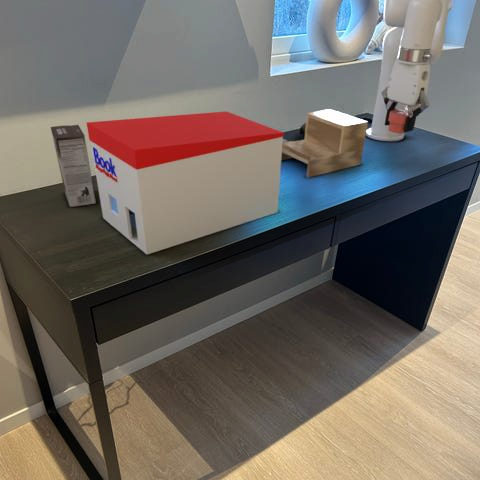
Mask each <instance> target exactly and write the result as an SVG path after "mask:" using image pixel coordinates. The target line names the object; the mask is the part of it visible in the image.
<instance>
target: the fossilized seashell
mask: <svg viewBox="0 0 480 480" xmlns="http://www.w3.org/2000/svg"><path fill="white" fill-rule="evenodd" d="M305 128H306V122H304V123H303V124H302V125H301V126H300V127H299V134H300V135H302V136H305Z"/></svg>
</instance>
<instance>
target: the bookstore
mask: <svg viewBox="0 0 480 480" xmlns="http://www.w3.org/2000/svg"><path fill="white" fill-rule="evenodd" d="M86 129H87V134H88V140H89V141H90V148H91V153H92V154H91V155H92V160H93V165H94V166H93V167H94V171H95V177H96V184H97V189H98V195H99V201H100V208H101V213H102V218H103V220H105V221H106V222H107V223H109V224H110V226H112V227H113V228H114V229H115V230H116V231H118V232H119V233H120V234H121V235H123V236H124V237H125V238H126V239H127V240H129V241H130V242H131V243H132V244H133V245H135V247H137V248H138V249H139V250H141V251H142V252H143V253H144V254H145V255H150V254H153V253H156V252H159V251H162V250H165V249H169V248H171V247H174V246H178V245H182V244H185V243H187V242H190V241H193V240H197V239H200V238H203V237H205V236H208V235H212V234H215V233H218V232H222V231H224V230H227V229H231V228H234V227H236V226H240V225H243V224H246V223H249V222H252V221H255V220H257V219H261V218H264V217H267V216H270V215H273V214H277V213H278V212H279V197H280V183H281V168H282V160H281V156H282V141H283V139H284V132H283V131H281V130H280V131H278V130H279V129H278V130H277V129H275V128H272V127H269V126H268V125H264V124H262V123H259V122H256V121H253V120H251V119H248V118H245V117H243V116H240V115H238V114H235V113H232V112H229V111H214V112H213V111H212V112H201V113H189V114H188V113H187V114H176V115H164V116H150V117H137V118H126V119H112V120H111V119H110V120H99V121H88V122H86Z"/></svg>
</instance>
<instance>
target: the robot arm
mask: <svg viewBox="0 0 480 480" xmlns="http://www.w3.org/2000/svg"><path fill="white" fill-rule="evenodd" d="M449 5H450V0H384V7H383V21H384V24H385V25H386V26H387V27H390V28H391V29H389V30H388V31H387V32H386V33H385V34H384V37H383V41H382V51H381V52H382V54H381V68H380V75H379V81H378V87H377V94H376V98H375V103H374V104H375V105H374V109H373V110H374V111H373V116H372V120H371V121H372V123H371V127H370V128H367V130H366V136H365V137H368V138H370V139H372V140H376V141H379V142H398V141H401V140H403V139H404V137H405V133H393V132H390V131H389V130H388V129H389V124H390V122H389V120H388V119H389V114H390V111H392V110H406V106H407V109H408V110H407V111H408V112H409V116H408V117H407V118H406V122H405V126H404V132H406V133H410V132H412V131H414V128H415V124H416V120H417V117H418V116H419V115H421V114H422V113H423V112H424V111H425V110H426V109H428V108H429V107H430V102H429V100H428V98H427V97H428V96H427V95H428V91H429V83H430V78H431V77H430V76H431V65H434V64H436V63H437V62H438V61H439V60H440V58H441V56H442V53H443V47H444V41H445V36H446V29H447V28H446V27H447V20H448V13H449Z"/></svg>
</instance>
